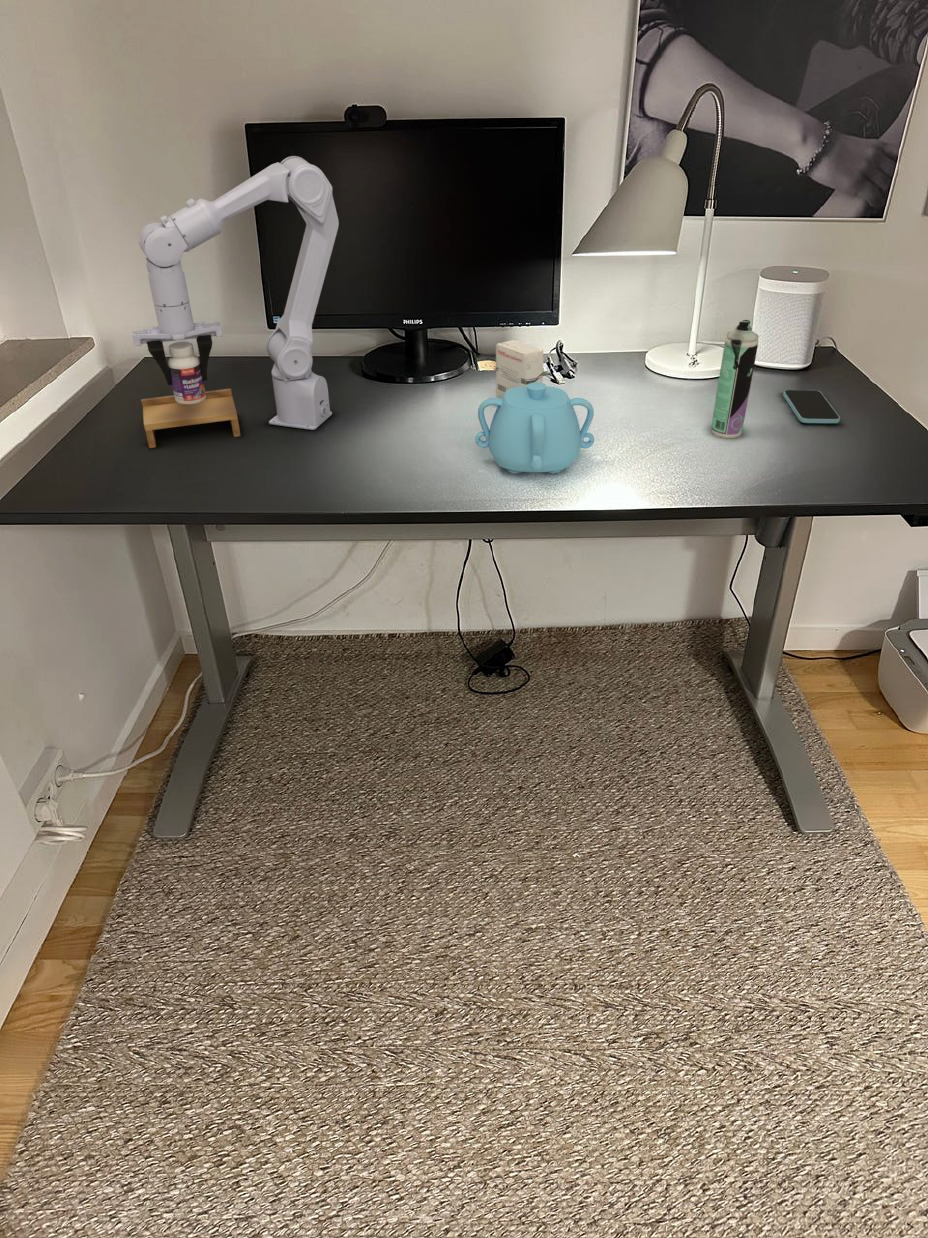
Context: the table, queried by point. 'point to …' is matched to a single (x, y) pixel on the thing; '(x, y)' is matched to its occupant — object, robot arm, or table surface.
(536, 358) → the ink box
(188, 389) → the pill bottle
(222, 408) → the desk shelf
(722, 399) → the spray can
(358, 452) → the table surface
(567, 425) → the decorative pot
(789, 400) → the smartphone
